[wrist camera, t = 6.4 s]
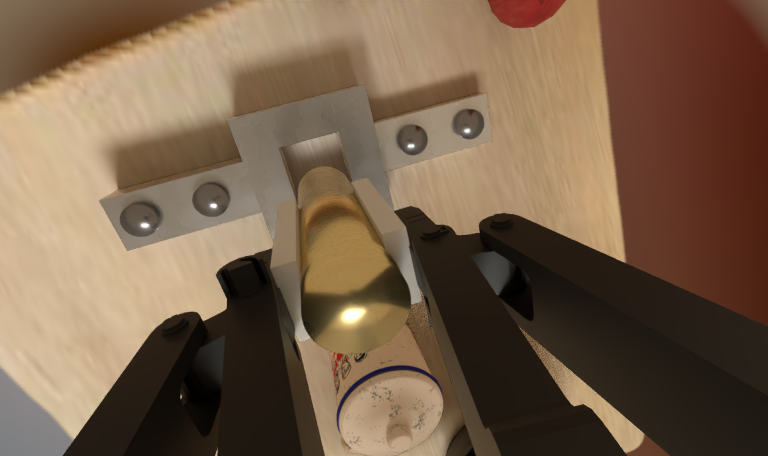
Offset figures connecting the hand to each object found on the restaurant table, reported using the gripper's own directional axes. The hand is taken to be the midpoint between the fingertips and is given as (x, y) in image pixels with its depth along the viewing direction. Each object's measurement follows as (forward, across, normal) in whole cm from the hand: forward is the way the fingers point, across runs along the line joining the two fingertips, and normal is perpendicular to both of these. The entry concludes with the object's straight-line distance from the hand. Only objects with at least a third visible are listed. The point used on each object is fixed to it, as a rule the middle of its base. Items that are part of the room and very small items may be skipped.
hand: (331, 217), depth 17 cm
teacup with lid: (+15, +1, +21) cm, 26 cm away
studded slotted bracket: (+15, 0, 0) cm, 15 cm away
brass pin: (+4, 0, 0) cm, 4 cm away
